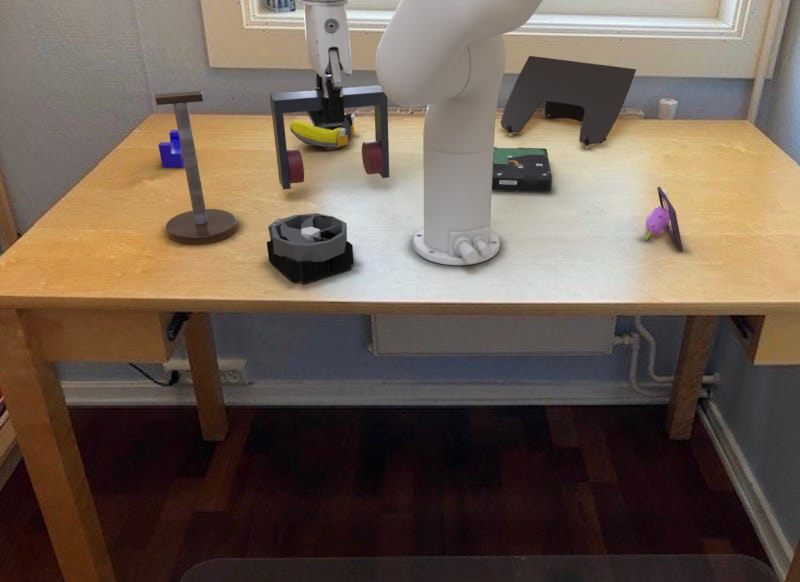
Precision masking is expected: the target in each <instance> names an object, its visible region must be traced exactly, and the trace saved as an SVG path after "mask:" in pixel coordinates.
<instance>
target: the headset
mask: <svg viewBox="0 0 800 582" xmlns="http://www.w3.org/2000/svg"><path fill="white" fill-rule="evenodd" d="M322 97H324V93H323V90H302V91H301V90H300V91H290V92H288V91H287V92H277V93H270V94H269V101H270V107H271V108H270V110H271V118H272V119H271V120H272V126H273V137H274V146H275V155H276V165H277V171H278V172H277V173H278V181H279V183H280V186H281V187H282V189H283V191H284V190H291V189H292V185H291V184H298V183H303V182H305V167H304V159H303V156H302V153H301V150H300V148H290V149H288V148H287V139H286V127H285V119H284V118H285V117H284V114H292V113H303V112H305V113H306V111H316V110H323V108H322ZM343 98H344V109H350V108H362V107H373V109H374V132H375V133H374V134H375V135H374V136H375V140H369V141H363V142H362V144H361V160H362V165H363V168H364V172H365V174H366V175H367V176H369V175H378V174H379V176H380V177H381V178H382V179H388V178H390V147H389V144H390V142H389V108H388V105H389V104H388V103H389V102H388V97H387V96H386V95H385V94H384V92H383V90H382V89H381V87H380V84H379V85H365V86H354V87H343Z"/></svg>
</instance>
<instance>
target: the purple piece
mask: <svg viewBox="0 0 800 582" xmlns="http://www.w3.org/2000/svg"><path fill="white" fill-rule="evenodd" d="M656 187H657V186H656ZM656 189H657V194H658V200H659V203H660V205H657V206H656V205H654V209H653V210H651V212H650V213H649V214H648V216H647V217H646V220H645V228H646V230H647V232H648V233H647V235H646V236H645V238H644V239H645V241H649V239H650V238H651V237H652V236H653V235H654V236H655V235H659V234H661V235H662V234H663V231H664V230H665V229H666V230H667V232H668V233H669V235H670V237H671V238H672V240H673V242H674V243H675V246H676V247H677V248H678V250H679V252H682V251H684V250H683V244H682V243H683V242H682V238H681V233H680V228H679V223H678V217H677V212H676V209H675V208H674V206H673V205H672V203H671V202H670V200H669V198H668V197H667V196H668V192H667V190H666V189H663V188H661V186H658V187H657V188H656ZM670 226H671V227H670Z"/></svg>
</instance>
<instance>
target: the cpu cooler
mask: <svg viewBox="0 0 800 582" xmlns="http://www.w3.org/2000/svg"><path fill="white" fill-rule="evenodd" d="M267 229H268V236H269V239H270V240H268V241H266V248H267V249H266V250H267V255H268V262H269V263H270V264H271V265H272V266H273V267H274V268H276V269H277V270H278V271H279V272H280V273H281V274H283V275H284V276H285V278H287V279H288V280H290V281H291V282H292V283H293V284H295V283H299V282H301V284H303V285H304V284H305V285H306V284H307V283H311V282H314V281H317V280H320V279H323V278H326V277H329V276H332V275H333V276H334V275H336V274H340V273H343V272H346V271H350V270H352V266H354V265H355V263H354V261H355V260H354V247H353V244H352V243H351V242H349V241H348V226H347V222H345V221H343V220H341V219H339V218H337V217H335V216H332V215H328V214H323V213H318V212H313V213H302V214H294V215H290V216H287V217H285V218H277V219H276V220H274V221H273V222H272V223H271V224H269V225H268V226H267Z"/></svg>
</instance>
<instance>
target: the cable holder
mask: <svg viewBox="0 0 800 582" xmlns="http://www.w3.org/2000/svg"><path fill="white" fill-rule="evenodd" d="M168 133H169V142H168V141H160V142H159V143H158V146H157V147H158V150H159V156H160V161H161V165H162V168H173V169H174V168H175V169H177V168H178V169H184V168H185V166H184V160H183V155H182V149H181V144H180V138H179V133H178V129H171V130H170V131H169V132H168Z"/></svg>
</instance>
